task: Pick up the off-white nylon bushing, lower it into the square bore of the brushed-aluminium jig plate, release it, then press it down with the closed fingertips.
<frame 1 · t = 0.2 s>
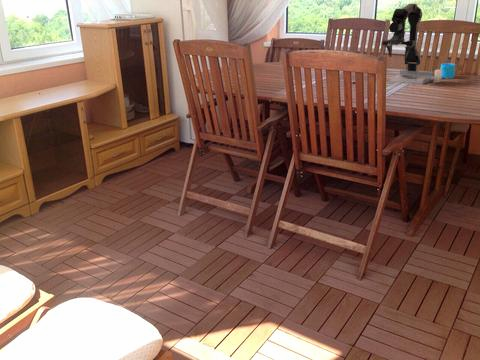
hand: (397, 57, 302), 14 cm above the table, fingers open, 9 cm apart
bushing: (437, 81, 301), on the table
jig: (411, 80, 307), on the table
mug: (444, 78, 311), on the table
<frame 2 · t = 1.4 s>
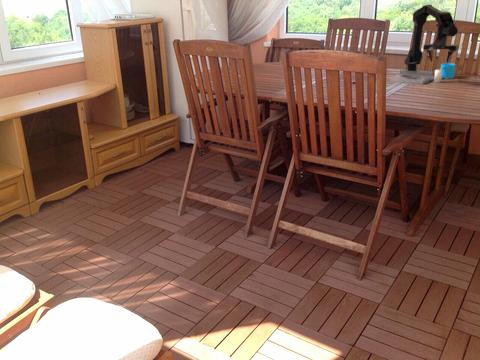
hand: (439, 62, 296), 12 cm above the table, fingers open, 9 cm apart
nothing on the table moved.
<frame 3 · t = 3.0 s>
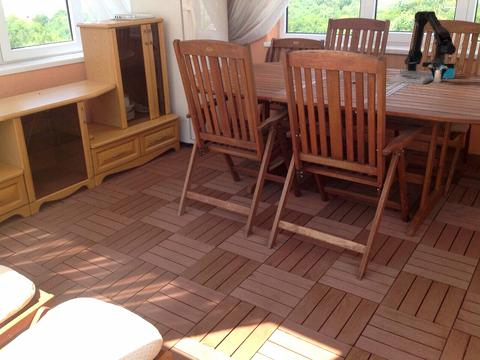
hand: (437, 79, 300), 2 cm above the table, fingers closed on bushing, 4 cm apart
bushing: (437, 81, 301), on the table, touching gripper
everything else where it was.
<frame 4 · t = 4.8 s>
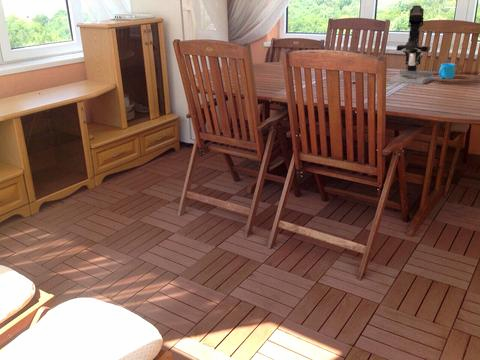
hand: (412, 62, 304), 11 cm above the table, fingers closed on bushing, 4 cm apart
bushing: (411, 65, 304), point 9 cm above the table, touching gripper
everything else where it was.
when the fingers open (3 cm above the table, at t = 6.5 s): bushing drops 1 cm, resting in jig.
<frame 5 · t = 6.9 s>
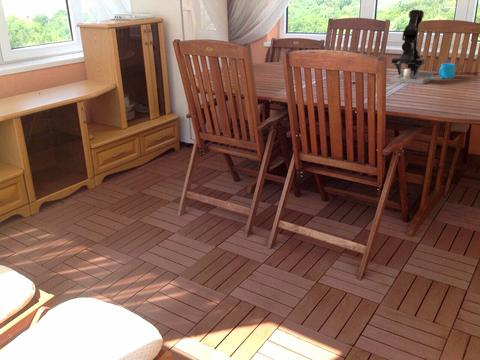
hand: (406, 75, 308), 3 cm above the table, fingers open, 9 cm apart
bushing: (406, 80, 309), resting in jig
everything else where it was.
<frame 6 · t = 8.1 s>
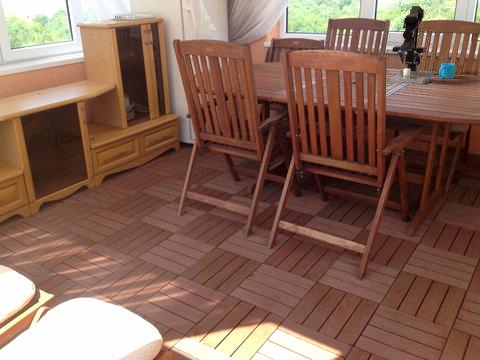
hand: (407, 63, 305), 10 cm above the table, fingers open, 6 cm apart
nothing on the table moved.
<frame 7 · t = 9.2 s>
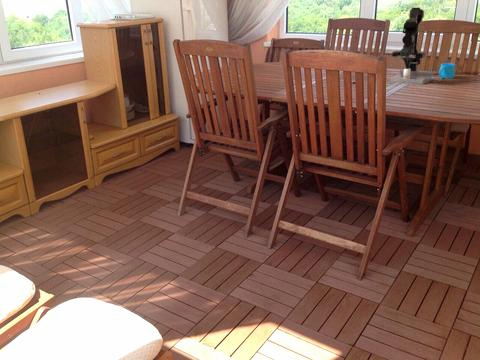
hand: (407, 68, 306), 7 cm above the table, fingers closed
nothing on the table moved.
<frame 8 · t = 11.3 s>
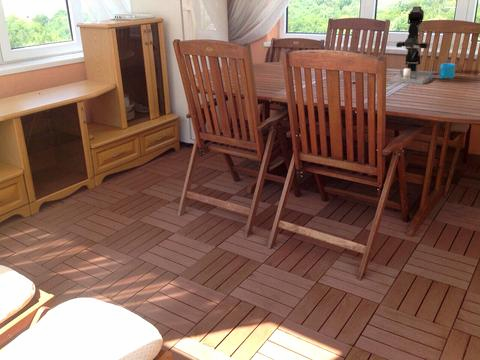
hand: (411, 59, 309), 12 cm above the table, fingers closed
nothing on the table moved.
at the end: bushing 0.1 cm from the target spot on the jig, point 0.0 cm above the jig's base; bushing tilted 0°; the gripper is holding nothing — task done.
